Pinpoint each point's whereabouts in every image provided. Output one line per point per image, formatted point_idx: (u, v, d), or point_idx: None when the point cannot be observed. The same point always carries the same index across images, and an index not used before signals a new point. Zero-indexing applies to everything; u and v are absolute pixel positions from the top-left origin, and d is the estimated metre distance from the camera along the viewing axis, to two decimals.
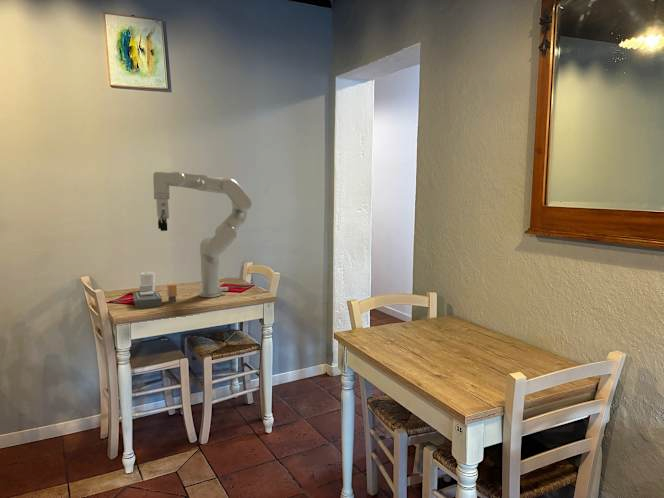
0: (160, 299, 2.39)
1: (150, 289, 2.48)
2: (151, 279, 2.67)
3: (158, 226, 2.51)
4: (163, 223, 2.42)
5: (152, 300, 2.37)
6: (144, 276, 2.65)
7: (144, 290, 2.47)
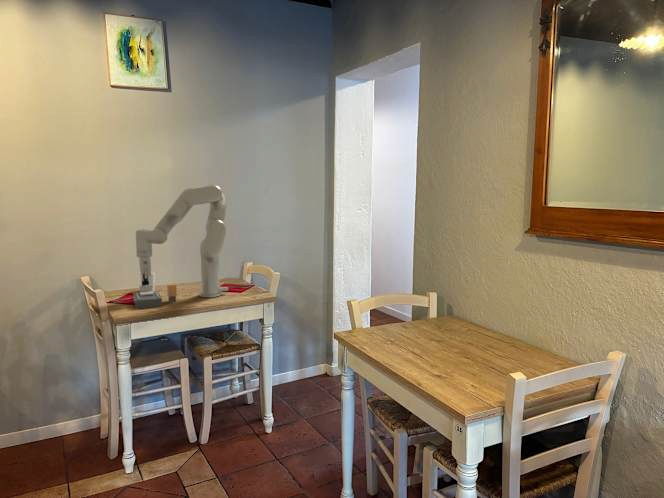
0: (160, 299, 2.39)
1: (150, 289, 2.48)
2: (151, 279, 2.67)
3: None
4: None
5: (152, 300, 2.37)
6: None
7: (144, 290, 2.47)
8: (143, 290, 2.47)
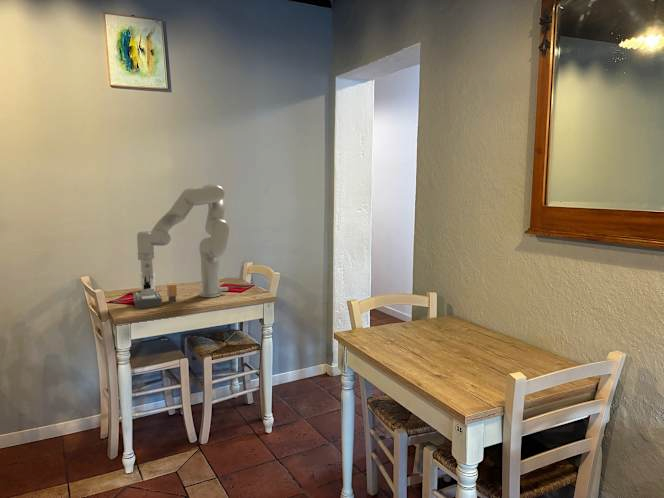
0: (160, 299, 2.39)
1: (152, 293, 2.41)
2: (151, 279, 2.67)
3: None
4: None
5: (152, 300, 2.37)
6: None
7: (146, 294, 2.39)
8: (145, 294, 2.39)
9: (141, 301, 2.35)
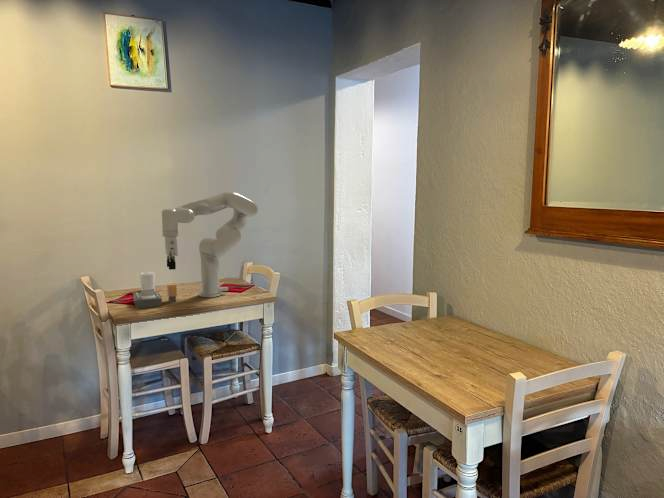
0: (160, 299, 2.39)
1: (152, 293, 2.41)
2: (151, 279, 2.67)
3: (167, 264, 2.49)
4: (171, 262, 2.42)
5: (152, 300, 2.37)
6: (144, 276, 2.65)
7: (146, 294, 2.39)
8: (145, 294, 2.39)
9: (141, 301, 2.35)
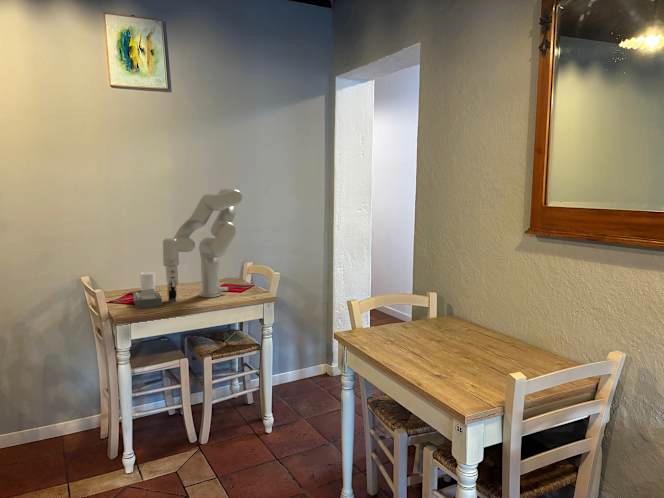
0: (160, 299, 2.39)
1: (152, 293, 2.41)
2: (151, 279, 2.67)
3: None
4: (172, 291, 2.46)
5: (152, 300, 2.37)
6: (144, 276, 2.65)
7: (146, 294, 2.39)
8: (145, 294, 2.39)
9: (141, 301, 2.35)
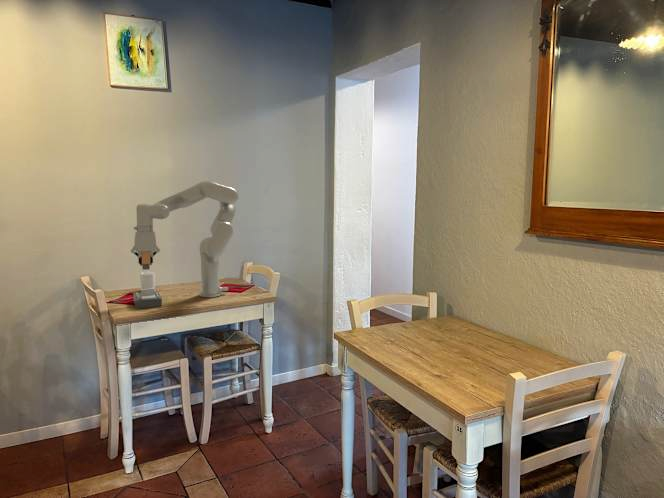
0: (160, 299, 2.39)
1: (152, 293, 2.41)
2: (151, 279, 2.67)
3: None
4: None
5: (152, 300, 2.37)
6: (144, 276, 2.65)
7: (146, 294, 2.39)
8: (145, 294, 2.39)
9: (141, 301, 2.35)
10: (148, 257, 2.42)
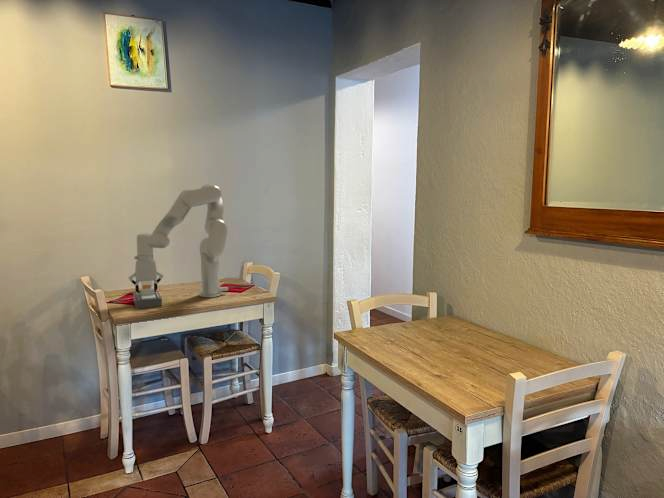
0: (160, 299, 2.39)
1: (152, 293, 2.41)
2: None
3: None
4: None
5: (152, 300, 2.37)
6: None
7: (146, 294, 2.39)
8: (145, 294, 2.39)
9: (141, 301, 2.35)
10: None
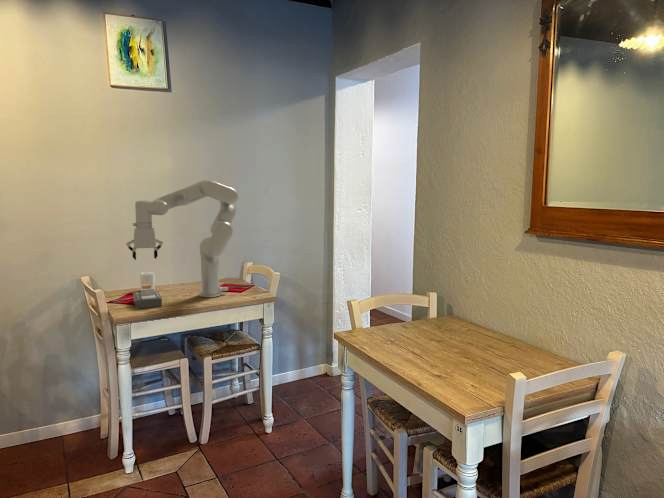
0: (160, 299, 2.39)
1: (152, 293, 2.41)
2: (151, 279, 2.67)
3: None
4: (132, 251, 2.41)
5: (152, 300, 2.37)
6: (144, 276, 2.65)
7: (146, 294, 2.39)
8: (145, 294, 2.39)
9: (141, 301, 2.35)
10: None
